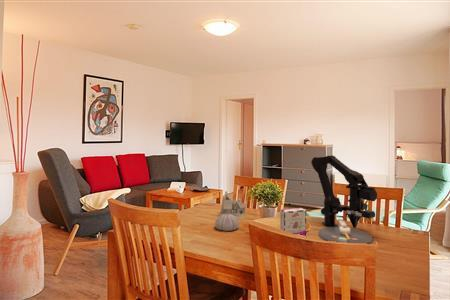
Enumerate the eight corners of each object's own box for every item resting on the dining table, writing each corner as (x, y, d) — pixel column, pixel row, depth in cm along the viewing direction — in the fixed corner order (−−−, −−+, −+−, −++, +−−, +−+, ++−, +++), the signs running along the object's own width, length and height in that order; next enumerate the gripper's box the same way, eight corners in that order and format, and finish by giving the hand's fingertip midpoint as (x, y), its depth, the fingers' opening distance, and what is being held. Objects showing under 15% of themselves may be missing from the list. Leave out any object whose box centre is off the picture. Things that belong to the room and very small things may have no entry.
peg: (354, 241, 144) (354, 233, 143) (343, 240, 144) (343, 232, 144) (345, 226, 166) (345, 219, 165) (335, 226, 167) (335, 219, 166)
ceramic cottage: (216, 217, 188) (218, 193, 188) (223, 212, 204) (225, 189, 204) (241, 221, 184) (243, 196, 184) (246, 215, 200) (248, 192, 200)
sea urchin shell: (235, 233, 160) (235, 218, 159) (210, 230, 164) (210, 215, 164) (242, 226, 172) (242, 211, 172) (219, 223, 176) (219, 209, 176)
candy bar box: (300, 241, 148) (301, 207, 147) (306, 245, 143) (306, 210, 142) (279, 243, 145) (279, 209, 144) (284, 247, 140) (284, 211, 139)
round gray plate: (311, 229, 166) (311, 226, 166) (355, 228, 168) (355, 225, 168) (331, 246, 141) (331, 243, 141) (383, 245, 143) (383, 241, 143)
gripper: (381, 199, 157) (380, 229, 158) (348, 193, 172) (347, 221, 173) (369, 201, 150) (368, 233, 151) (335, 195, 166) (335, 224, 166)
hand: (354, 227), depth 161 cm, fingers closed
